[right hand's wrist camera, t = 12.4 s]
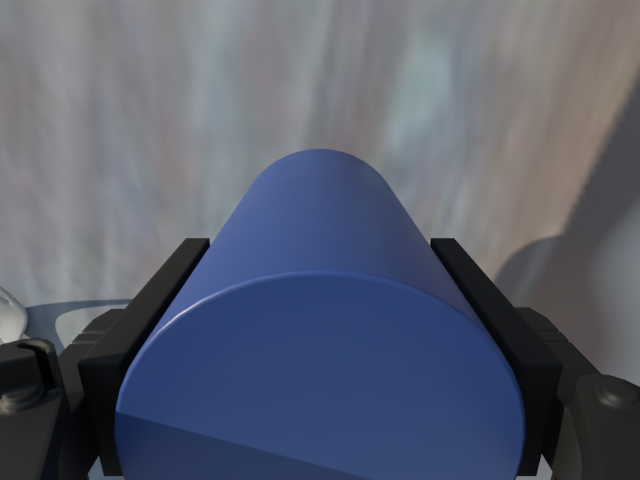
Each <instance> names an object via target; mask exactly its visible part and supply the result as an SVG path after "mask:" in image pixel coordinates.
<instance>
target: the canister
mask: <svg viewBox="0 0 640 480" xmlns="http://www.w3.org/2000/svg"><path fill="white" fill-rule="evenodd" d="M114 436H115V444H116V452H117V457H118V461H119V464H120V467H121V470H122V474H123V476H124V478H125V480H515V479H516V477H517V474H518V471H519V468H520V465H521V462H522V459H523V453H524V446H525V440H526V422H525V409H524V404H523V399H522V394H521V390H520V388H519V385H518V383H517V380H516V378H515V375H514V372H513V370H512V368H511V367H510V365H509V363H508V362H507V360H506V358H505V357H504V355H503V353H502V352H501V350H500V348H499V347H498V346H497V344H496V343H495V341H494V340H493V338H492V337H491V335H490V334H489V332H488V331H487V329H486V328H485V326H484V325H483V323H482V322H481V321H480V319H479V318H478V316H477V315H476V313H475V312H474V310H473V309H472V307H471V306H470V304H469V303H468V301H467V300H466V298H465V297H464V296H463V294H462V293H461V291H460V290H459V288H458V287H457V285H456V284H455V282H454V281H453V279H452V278H451V276H450V275H449V273H448V272H447V270H446V269H445V268H444V266H443V265H442V263H441V262H440V260H439V259H438V257H437V256H436V254H435V253H434V251H433V250H432V248H431V247H430V245H429V244H428V243H427V241H426V240H425V238H424V237H423V235H422V234H421V232H420V231H419V229H418V228H417V226H416V225H415V223H414V222H413V220H412V219H411V218H410V216H409V215H408V213H407V212H406V210H405V209H404V207H403V206H402V204H401V203H400V201H399V200H398V198H397V197H396V195H395V194H394V193H393V191H392V190H391V188H390V187H389V185H388V184H387V182H386V181H385V180H384V179H383V177H382V176H381V175H380V174H379V173H378V172H377V171H376V170H375V169H374V168H373V167H371V166H370V165H368V164H367V163H365V162H364V161H362V160H360V159H358V158H357V157H355V156H352V155H349V154H347V153H344V152H340V151H335V150H327V149H313V150H305V151H300V152H297V153H294V154H291V155H288V156H286V157H284V158H282V159H280V160H278V161H276V162H275V163H273V164H272V165H270V166H269V167H268V168H267V169H265V170H264V171H263V172H262V173H261V174H260V175H259V176H258V178H257V179H256V180H255V181H254V182H253V184H252V185H251V187H250V188H249V190H248V191H247V193H246V194H245V196H244V197H243V199H242V200H241V202H240V203H239V205H238V206H237V208H236V209H235V210H234V212H233V213H232V215H231V216H230V218H229V219H228V221H227V222H226V224H225V225H224V227H223V228H222V230H221V231H220V233H219V234H218V236H217V237H216V238H215V240H214V241H213V243H212V244H211V246H210V247H209V249H208V250H207V252H206V253H205V255H204V256H203V258H202V259H201V261H200V262H199V264H198V265H197V267H196V268H195V269H194V271H193V272H192V274H191V275H190V277H189V278H188V280H187V281H186V283H185V284H184V286H183V287H182V289H181V290H180V292H179V293H178V295H177V296H176V297H175V299H174V300H173V302H172V303H171V305H170V306H169V308H168V309H167V311H166V312H165V314H164V315H163V317H162V318H161V320H160V321H159V323H158V324H157V325H156V327H155V328H154V330H153V331H152V333H151V334H150V336H149V337H148V339H147V340H146V342H145V343H144V345H143V346H142V348H141V349H140V351H139V352H138V354H137V356H136V357H135V359H134V360H133V362H132V364H131V365H130V367H129V369H128V371H127V374H126V376H125V378H124V381H123V383H122V386H121V388H120V392H119V396H118V401H117V405H116V410H115V430H114Z"/></svg>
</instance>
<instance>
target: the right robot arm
mask: <svg viewBox="0 0 640 480" xmlns="http://www.w3.org/2000/svg"><path fill="white" fill-rule="evenodd" d="M209 247H210V240H209V238H186V239H185V240H184V241H183V243H182V244H181V245H180V246H179V247H178V248H177V249H176V251H175V252H174V253H173V254H172V255H171V256H170V258H169V259H168V260H167V261H166V262H165V263H164V264H163V266H162V267H161V268H160V269H159V270H158V271H157V272H156V274H155V275H154V276H153V277H152V278H151V279H150V281H149V282H148V283H147V284H146V285H145V286H144V287H143V289H142V290H141V291H140V292H139V293H138V294H137V295H136V297H135V298H134V299H133V300H132V301H131V302H130V304H129V305H128V306H127V307H126V308H125V309H111V310H109V311H107V312H105V313H104V314H102V315H100V316H99V317H97V318H95V319H94V320H93V321H92V322H91V323H90V324H89V325H88V326H87V327H86V328H85V329H84V330H83V331H82V334H79V335H78V336H77V337H76V338H75V339H74V340H73V341H72V344H70V345H69V346H68V347H67V348H66V349H65V350H64V351H63V352H62V353H61V354H60V355H59V356H58V357H57V355H56V351H55V347H54V344H53V343H51V342H50V341H48V340H46V339H39V338H31V339H20V340H17V341H13V342H9V343H5V344H2V345H0V480H89V477H88V472H89V471H90V469H91V467H92V466H93V464H94V462H95V461H96V459H97V457H98V456H99V457H100V461H101V465H102V469H103V473H104V476H123V474H122V470H121V467H120V464H119V461H118V457H117V452H116V444H115V436H114V430H115V410H116V405H117V401H118V396H119V392H120V388H121V386H122V383H123V381H124V378H125V376H126V374H127V371H128V369H129V367H130V365H131V364H132V362H133V360H134V359H135V357H136V356H137V354H138V352H139V351H140V349H141V348H142V346H143V345H144V343H145V342H146V340H147V339H148V337H149V336H150V334H151V333H152V331H153V330H154V328H155V327H156V325H157V324H158V323H159V321H160V320H161V318H162V317H163V315H164V314H165V312H166V311H167V309H168V308H169V306H170V305H171V303H172V302H173V300H174V299H175V297H176V296H177V295H178V293H179V292H180V290H181V289H182V287H183V286H184V284H185V283H186V281H187V280H188V278H189V277H190V275H191V274H192V272H193V271H194V269H195V268H196V267H197V265H198V264H199V262H200V261H201V259H202V258H203V256H204V255H205V253H206V252H207V250H208V249H209ZM430 247H431V248H432V250H433V251H434V253H435V254H436V256H437V257H438V259H439V260H440V262H441V263H442V265H443V266H444V268H445V269H446V270H447V272H448V273H449V275H450V276H451V278H452V279H453V281H454V282H455V284H456V285H457V287H458V288H459V290H460V291H461V293H462V294H463V296H464V297H465V298H466V300H467V301H468V303H469V304H470V306H471V307H472V309H473V310H474V312H475V313H476V315H477V316H478V318H479V319H480V321H481V322H482V323H483V325H484V326H485V328H486V329H487V331H488V332H489V334H490V335H491V337H492V338H493V340H494V341H495V343H496V344H497V346H498V347H499V348H500V350H501V352H502V353H503V355H504V357H505V358H506V360H507V362H508V363H509V365H510V367H511V368H512V370H513V372H514V375H515V378H516V380H517V383H518V385H519V388H520V390H521V394H522V399H523V404H524V409H525V422H526V440H525V446H524V453H523V459H522V462H521V465H520V468H519V471H518V474H517V476H536V474H537V470H538V466H539V462H540V458H541V454H542V455H543V456H544V458H545V460H546V461H547V463H548V465H549V466H550V468H551V470H552V471H553V473H552V477H551V480H640V387H639V386H637V385H635V384H632V383H630V382H628V381H626V380H624V379H620V378H617V377H614V376H610V375H603V374H601V373H600V372H599V371H598V370H597V369H596V368H595V367H594V366H593V365H592V364H591V363H590V362H589V361H588V360H587V359H586V358H585V357H584V356H583V355H582V354H581V353H580V352H579V351H578V350H577V348H576V347H575V346H574V345H573V344H572V343H569V342H568V339H567V338H566V337H565V336H564V335H563V334H562V333H561V332H559V331H558V329H557V328H556V327H555V326H554V325H553V324H552V323H551V322H550V321H549V320H548V319H547V318H546V317H544V316H543V315H541V314H539V313H537V312H536V311H534V310H532V309H531V308H514V307H513V306H512V304H511V303H510V302H509V301H508V300H507V299H506V297H505V296H504V295H503V294H502V293H501V292H500V291H499V289H498V288H497V287H496V286H495V285H494V284H493V283H492V281H491V280H490V279H489V278H488V277H487V276H486V274H485V273H484V272H483V271H482V270H481V269H480V268H479V266H478V265H477V264H476V263H475V262H474V261H473V260H472V258H471V257H470V256H469V255H468V254H467V253H466V251H465V250H464V249H463V248H462V247H461V246H460V245H459V243H458V242H457V241H456V240H455V239H454V238H431V243H430Z"/></svg>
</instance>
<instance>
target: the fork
mask: <svg viewBox="0 0 640 480" xmlns="http://www.w3.org/2000/svg"><path fill="white" fill-rule="evenodd" d="M0 292H1V293H2V294H3V295H4V296H5V297H6V298H7V299H8V300H9V301H6V300H5V299H3V298H2V297H1V296H0V337H1V338H2V340H3V341H4V343H9V342H13V341H17V340H20V339H21V338H22V335H23V333H24V331H25V329H26V326H27V322H28V314H27V311H26V310H25V308H24V307H23V306H22V305H21V303H19V302H18V301H17V300H16V299H15V298H14V297H13V296H12V295H11V294H10V293H8V292H7V291H6V290H5V289H3V288H2V287H1V286H0Z"/></svg>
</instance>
